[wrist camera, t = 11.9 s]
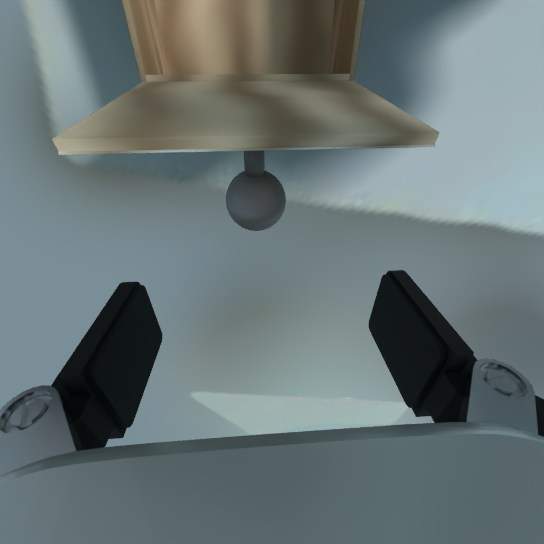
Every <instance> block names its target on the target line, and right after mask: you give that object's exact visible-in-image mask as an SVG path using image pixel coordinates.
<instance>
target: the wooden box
mask: <svg viewBox="0 0 544 544" xmlns="http://www.w3.org/2000/svg"><path fill="white" fill-rule="evenodd" d="M122 3H123V7H124V11H125V15H126V20H127V24H128V28H129V32H130V36H131V41H132V45H133V49H134V53H135V58H136V62H137V66H138V70H139V74H140V79H141V82H186V81H348V80H354V77H355V70H356V63H357V56H358V49H359V41H360V34H361V27H362V20H363V13H364V6H365V0H122Z"/></svg>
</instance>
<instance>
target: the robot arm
mask: <svg viewBox="0 0 544 544" xmlns="http://www.w3.org/2000/svg"><path fill="white" fill-rule="evenodd" d="M369 329H370V332H371V333H372V336H373V338H374V340H375V342H376V344H377V346H378V348H379V350H380V352H381V354H382V356H383V358H384V360H385V363H386V365H387V367H388V369H389V371H390V373H391V375H392V377H393V379H394V381H395V383H396V385H397V387H398V389H399V391H400V393H401V395H402V397H403V399H404V401H405V403H406V405H407V406H408V407H409V408H412V410H413V412H414V414H415V415H416V417H421V416H431V417H432V419H433V421H434V422H435V423H426V424H405V425H390V426H375V427H360V428H345V429H331V430H316V431H303V432H289V433H275V434H261V435H248V436H235V437H221V438H208V439H195V440H183V441H170V442H157V443H146V444H136V445H126V446H114V447H105V446H106V443H107V441H108V439H114V438H123V437H124V434H125V431H126V428H128V427H130V426H131V425H132V424H133V421H134V418H135V415H136V413H137V410H138V407H139V404H140V401H141V399H142V396H143V393H144V390H145V387H146V384H147V381H148V379H149V376H150V373H151V370H152V368H153V365H154V361H155V359H156V356H157V353H158V351H159V348H160V345H161V342H162V332H161V329H160V327H159V324H158V321H157V318H156V316H155V313H154V310H153V307H152V304H151V302H150V299H149V296H148V293H147V291H146V288H145V286H143V285H140V283H139V282H123V283H120V284H119V286H118V287H117V289H116V290H115V292H114V293H113V295H112V296H111V298H110V299H109V300H108V302H107V303H106V305H105V307H104V308H103V309H102V311H101V312H100V314H99V316H98V317H97V318H96V320H95V321H94V323H93V324H92V326H91V327H90V329H89V330H88V332H87V333H86V335H85V336H84V338H83V339H82V340H81V342H80V344H79V345H78V346H77V348H76V349H75V351H74V352H73V354H72V355H71V357H70V358H69V360H68V361H67V363H66V364H65V366H64V367H63V369H62V370H61V372H60V373H59V375H58V376H57V378H56V379H55V381H54V382H53V384H52V385H51V386H38V387H33V388H31V389H28V390H26V391H24V392H22V393H20V394H19V395H17V396H16V397H14V398H13V399H11V400H10V401H9V402H8V403H6V405H4V406H3V407H2V408H1V410H0V544H544V399H542V398H539V397H538V396H536V395H535V393H534V389H533V386H532V385H531V383H530V382H529V381H528V379H527V378H526V377H525V376H524V375H523V374H522V373H520V372H519V371H517V370H516V369H515V368H513V367H512V366H509V365H507V364H506V363H504V362H501V361H498V360H495V359H487V358H486V359H480V360H477V359H476V358H475V357H474V355H473V354H474V352H473V351H472V350H471V349H470V348H469V346H468V345H467V344H466V343H465V342H464V341H463V340H462V338H461V337H460V336H459V335H458V333H457V332H456V331H455V330H454V329H453V327H452V326H451V325H450V324H449V323H448V321H447V320H446V319H445V318H444V317H443V316H442V314H441V313H440V312H439V311H438V310H437V308H436V307H435V306H434V305H433V304H432V302H431V301H430V300H429V299H428V298H427V296H426V295H425V294H424V293H423V292H422V291H421V290H420V288H419V287H418V286H417V285H416V283H414V281H413V280H412V279H411V277H410V276H409V275H408V274H407V273H406V272H405V271H403V270H398V271H388V272H387V273H386V275H383V276H382V279H381V282H380V286H379V289H378V292H377V296H376V299H375V303H374V306H373V309H372V313H371V316H370V320H369Z"/></svg>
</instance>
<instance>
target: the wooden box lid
mask: <svg viewBox="0 0 544 544" xmlns="http://www.w3.org/2000/svg"><path fill="white" fill-rule="evenodd" d="M438 135H439V132H438V131H436V130H435V129H433V128H431V127H430V126H428V125H426V124H425V123H423V122H421V121H420V120H418V119H416V118H415V117H413V116H411V115H410V114H408V113H406V112H405V111H403V110H401V109H400V108H398V107H396V106H395V105H393V104H391V103H390V102H388V101H386V100H385V99H383V98H381V97H380V96H378V95H376V94H375V93H373V92H371V91H370V90H368V89H366V88H365V87H363V86H361V85H360V84H358V83H356V82H355V81H353V80H348V81H186V82H141V83H140V84H138V85H137V86H135V87H133V88H132V89H130V90H129V91H127V92H125V93H124V94H122V95H121V96H119V97H118V98H116V99H114V100H113V101H111V102H110V103H108V104H107V105H105V106H103V107H102V108H100V109H99V110H97V111H96V112H94V113H92V114H91V115H89V116H88V117H86V118H84V119H83V120H81V121H80V122H78V123H77V124H75V125H73V126H72V127H70V128H69V129H67V130H66V131H64V132H62V133H61V134H59V135H58V136H56V137H55V138H53V139H52V140H53V142H54V144H55V146H56V147H57V149H58V151H59V152H58V154H59V155H69V154H118V153H166V152H214V151H244V162H245V171H244V172H242V173H240V174H239V175H237V176H236V177H235V178H234V179H233V180H232V182H231V183H230V185H229V187H228V190H227V194H226V204H227V209H228V211H229V214H230V216H231V217H232V219H233V220H234V221H235V222H236V223H237V224H238V225H240V226H241V227H243V228H245V229H248V230H253V231H260V230H264V229H267V228H269V227H271V226H273V225H274V224H275V223H276V222H277V221H278V220H279V219H280V217H281V216H282V214H283V211H284V208H285V203H286V199H285V192H284V189H283V187H282V185H281V183H280V182H279V180H278V179H277V178H276V177H275V176H274V175H272V174H271V173H269V172H267V171H264V150H310V149H358V148H407V147H435V142H436V139H437V137H438Z"/></svg>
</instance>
